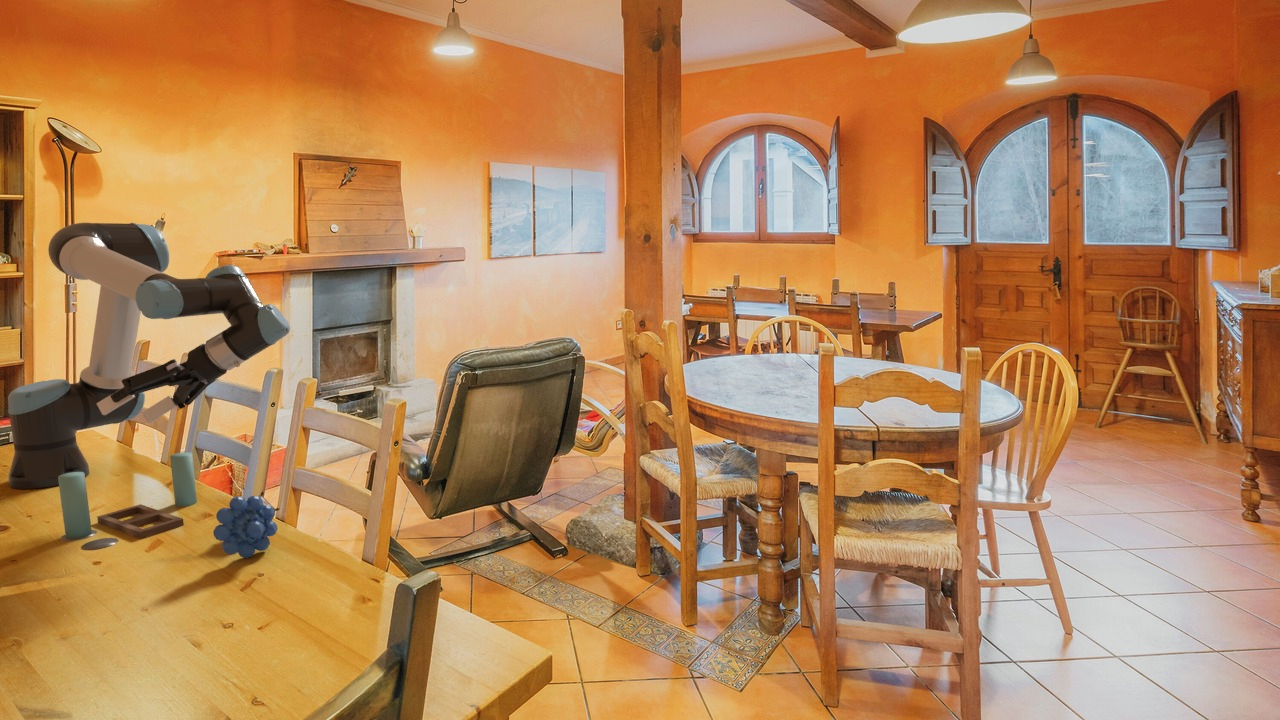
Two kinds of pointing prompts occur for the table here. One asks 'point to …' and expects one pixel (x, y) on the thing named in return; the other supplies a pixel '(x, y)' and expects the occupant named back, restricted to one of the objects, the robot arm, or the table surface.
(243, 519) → the blue flower wheel
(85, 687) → the table surface
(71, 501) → the pin
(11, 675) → the table surface
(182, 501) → the teal pin
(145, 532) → the brown wooden peg holder
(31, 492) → the table surface
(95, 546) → the pattern plate
